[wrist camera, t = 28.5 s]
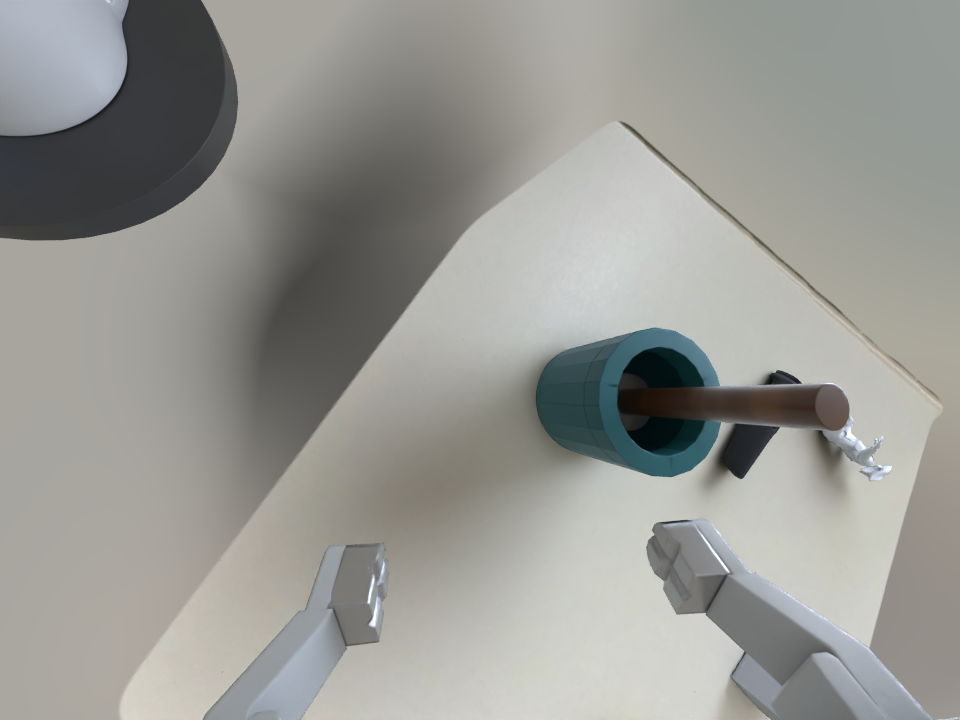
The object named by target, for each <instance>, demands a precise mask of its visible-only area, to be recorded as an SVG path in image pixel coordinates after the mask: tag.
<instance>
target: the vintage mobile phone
mask: <svg viewBox="0 0 960 720" xmlns="http://www.w3.org/2000/svg"><path fill="white" fill-rule="evenodd" d="M732 679H733V680H734V681H735V682H736V684H737V685H738V686H739V687H740V688H741V689H742V690H743V692H744V693H745V694H746V695H747V696H748V697H749V699H750V700H751V701H752V702H753V703H754V704H755V705H756V707H757V708H758V709H759V710H760V711H761V712H763V713H764V714H765V715H766V716H767V717H769V718H770V719H771V720H780V718H779V717H778V715H777V713H776V712H775V710H774V708H773V707H772V705H771V700H772V697H773V696H774V695H775V694H776V692H777V691H778V690H779V689H780V688H781V687H782V686H781V685H780V684H779V683H778V682H777V681H776V680H775V679H774V678H773V677H772V676H771V675H770V674H769V673H767V672H766V671H765V670H764V669H763V668H762V667H761V666H760V665H759V664H758V663H757V662H756V661H755V660H754V659H753V658H751V657H750V656H749V655H748V654H747V653H745V655H744V657H743V658H742V660H741V662H740V663H739V665H738V667H737V668H736V670H735V672H734V673H733V675H732Z"/></svg>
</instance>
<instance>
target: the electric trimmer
mask: <svg viewBox="0 0 960 720" xmlns="http://www.w3.org/2000/svg"><path fill="white" fill-rule="evenodd" d="M771 377H772V379H773V382H772V384H771V385H783V384H802V383H801V382H800V381H799V380H798V379H797V378H795V377H794V376H792V375H790V374H788V373H786V372H783V371H780V370H777V371H776V373H772V374H771ZM779 428H780V427H776V426H763V425H751V424H739V426H738V428H737V430H736V432H735V434H734V436H733V438H732V440H731V442H730V444H729V446H728V448H727V450H726V453H725V455H724V457H723V460H722V461H723V463H724V464H725V465H726V466H727V468H728V469H729V470H730V471H731V472H732V473H733V474H734V475H735V476H736V477H738V478H740V479H742V478H744V476H745V475H746V473H747V472H748V470H749V469H750V468H751V466H752V465H753V463H754V462H755V460H756V459H757V458H758V456H759V455H760V453H761V452H762V450H763V449H764V448H765V446H766V445H767V443H768V442H769V440H770V439H771V438H772V436H773V435H774V434H775V433H776V432H777V431H778V430H779Z"/></svg>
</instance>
